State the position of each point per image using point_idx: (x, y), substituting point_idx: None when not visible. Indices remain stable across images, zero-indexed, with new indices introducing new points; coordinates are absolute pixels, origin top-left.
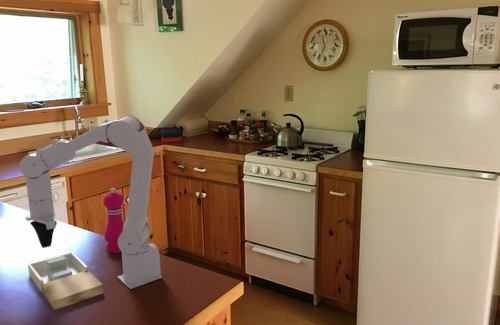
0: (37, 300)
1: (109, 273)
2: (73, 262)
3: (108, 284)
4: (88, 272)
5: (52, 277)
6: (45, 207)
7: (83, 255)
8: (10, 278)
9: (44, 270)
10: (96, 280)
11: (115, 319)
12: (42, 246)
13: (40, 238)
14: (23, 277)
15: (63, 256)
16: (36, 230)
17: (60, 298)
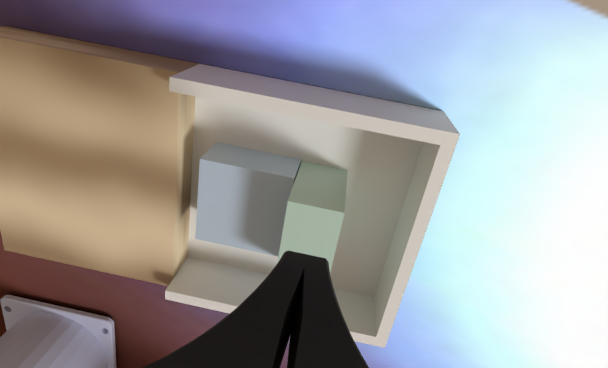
0: (146, 12)
1: (173, 322)
2: (350, 299)
3: (91, 273)
4: (147, 275)
5: (249, 159)
6: None
7: (412, 359)
8: (517, 21)
9: (411, 185)
10: (51, 254)
11: None
12: (284, 256)
13: (243, 302)
14: (456, 80)
15: None
16: (186, 365)
17: None
